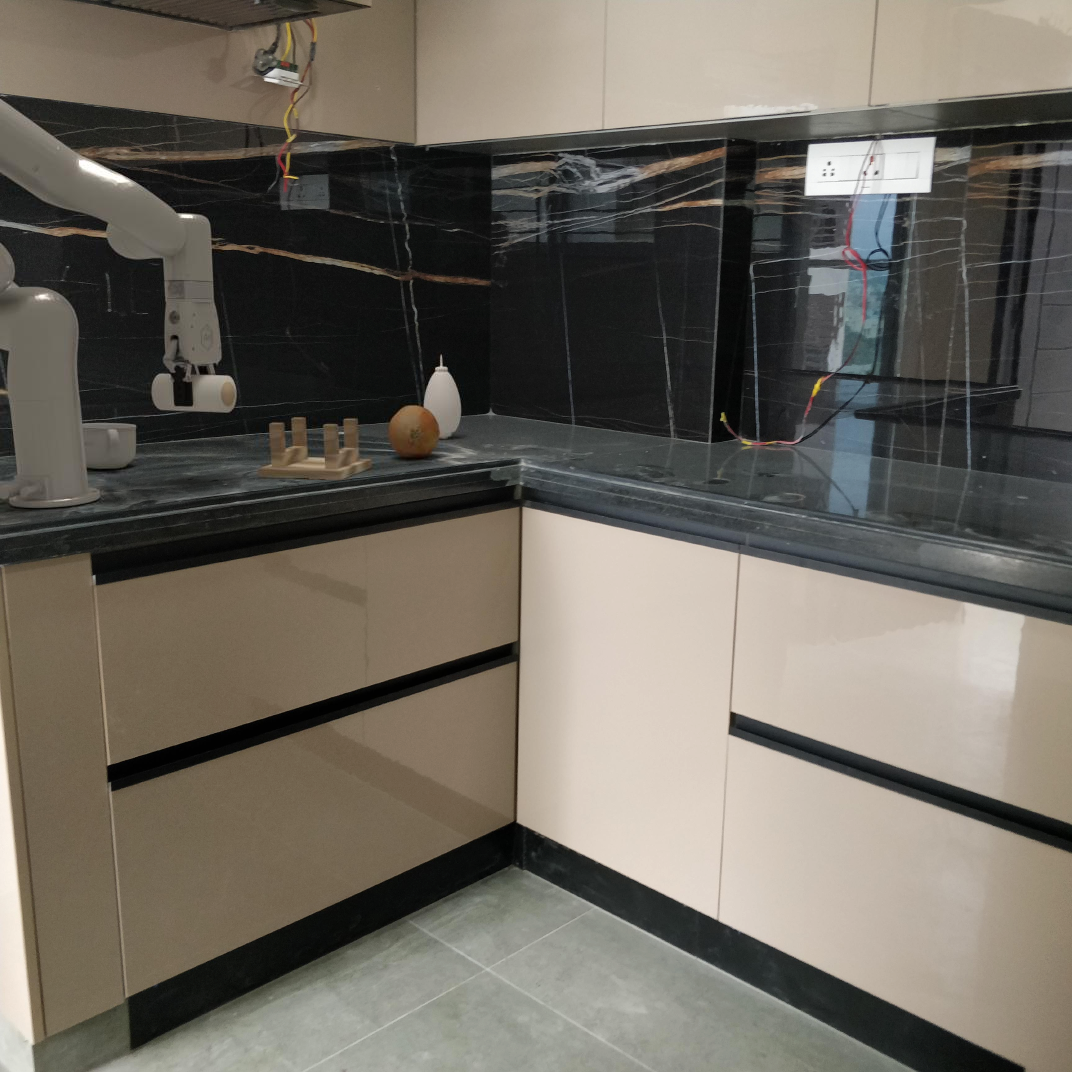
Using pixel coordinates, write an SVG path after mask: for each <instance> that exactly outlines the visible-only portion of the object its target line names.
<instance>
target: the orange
mask: <svg viewBox="0 0 1072 1072" xmlns="http://www.w3.org/2000/svg"><path fill="white" fill-rule="evenodd" d="M387 432H388V440H389V444H390V446H391V447H392V449H393V450H394V451H395V452H396V453H397V454H398V455H400V456H401V457H405V458H416V459H420V458H421V459H422V458H425V457H428V456H429V455H431V453H433V452H434V451H435V449H436V448H437V446H438V444H439V443H438V442H439V435H440V430H439V425H438V422H437V420H436V418H435V417H434V415H433V414H432V413H431V412H430V411H429V410H428V409H426V408H424V406H420V405H405V406H403V407H402V408H400V409H399V411H397V412H396V414H394V416H392V418H391V420H390V422H389V425H388V431H387Z"/></svg>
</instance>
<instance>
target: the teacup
mask: <svg viewBox="0 0 1072 1072" xmlns="http://www.w3.org/2000/svg"><path fill="white" fill-rule="evenodd" d="M82 427H83V437H84V448H85V458H86V468H89V469H96V470H102V469H105V470H107V469H108V470H110V469H120V468H121V469H122V468H125V467H127V466H128V464H129V463H131V462H132V461H133V460H134V458H135V456H136V451H137V430H136V429H137V425H136V424H131V423H116V422H114V423H113V422H112V423H111V422H110V423H109V422H94V423H93V422H92V423H91V422H90V423H89V422H87V423H86V422H85V423H82Z"/></svg>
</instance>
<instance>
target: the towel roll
mask: <svg viewBox="0 0 1072 1072" xmlns="http://www.w3.org/2000/svg"><path fill="white" fill-rule="evenodd" d="M170 377H171V375H170V373H158V374H157V375H156V376H155V377H154V379H153V381H152V384H151V397H152V402H153V404H154V406H155V407H156V408H157V409H159V410H160V411H177V412H178V411H181V412H203V413H204V412H207V413H210V412H211V413H230V412H231V411H232V410H233V409H234V408H235V405H236V402H237V396H238V395H237V386H236V384H235V381H234V379H233V378H232V376H230V375H219V374H218V375H216V374H215V375H197V374H190V380H189V382H192V389H193V406H191V407H183V406H175V405H174V395H173V382H172V381H171V378H170Z"/></svg>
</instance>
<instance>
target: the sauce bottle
mask: <svg viewBox="0 0 1072 1072" xmlns="http://www.w3.org/2000/svg"><path fill="white" fill-rule="evenodd" d="M439 359H440V360H439V362H440V363H439V364H440V365H439V366H437V367H435V369H434V370H435V371H434V373H433V374H432V375H431V377H430V378H429V381H428V385H427V386H426V389H425V394H424V399H423V408H426V409H428V410H429V411H430V412H431V413H432V414H433V415H434V417H435V418H436V420H437V422H438V425H439V430H440V435H439V439H441V440H443V439H444V440H445V439H448V438H449V437H452V433H454V432H456V431H457V429H458V427H459V424H460V422H461V416H462V404H461V397H460V394H459V390H458V387H457V385H456V382H455V380H454V378H453V376H452V375H451V373H450V372H449V369H448V367H447V366H443V355H442V354H440V357H439Z"/></svg>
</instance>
